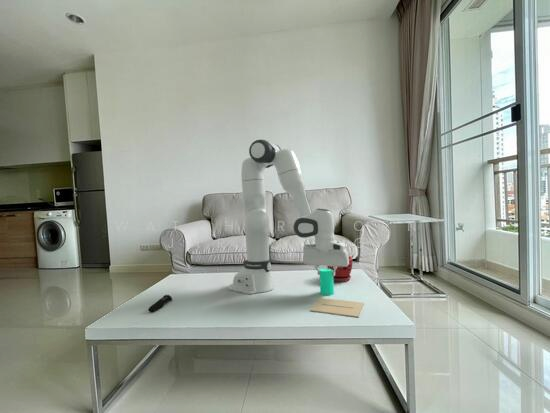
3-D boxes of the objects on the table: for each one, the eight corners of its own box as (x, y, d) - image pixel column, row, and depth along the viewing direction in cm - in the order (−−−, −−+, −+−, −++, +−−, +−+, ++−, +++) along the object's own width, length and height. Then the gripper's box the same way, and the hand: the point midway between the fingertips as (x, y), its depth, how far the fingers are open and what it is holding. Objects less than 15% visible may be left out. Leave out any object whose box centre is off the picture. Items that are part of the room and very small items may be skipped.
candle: (333, 295, 123) (332, 268, 123) (320, 295, 124) (319, 268, 124) (333, 291, 129) (332, 265, 129) (320, 290, 130) (319, 265, 130)
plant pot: (328, 283, 141) (327, 259, 141) (326, 276, 154) (326, 254, 154) (354, 283, 140) (353, 259, 139) (351, 276, 153) (350, 254, 152)
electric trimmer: (145, 314, 112) (145, 307, 112) (164, 300, 127) (164, 293, 127) (154, 314, 111) (154, 306, 111) (172, 300, 127) (172, 293, 127)
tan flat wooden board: (309, 311, 107) (309, 309, 107) (320, 298, 120) (319, 297, 120) (358, 317, 99) (358, 316, 99) (363, 303, 112) (363, 302, 112)
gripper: (300, 245, 128) (302, 275, 128) (346, 246, 119) (347, 278, 119) (305, 242, 133) (306, 271, 134) (349, 244, 125) (350, 274, 125)
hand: (326, 275), depth 126 cm, fingers closed on candle, 5 cm apart
